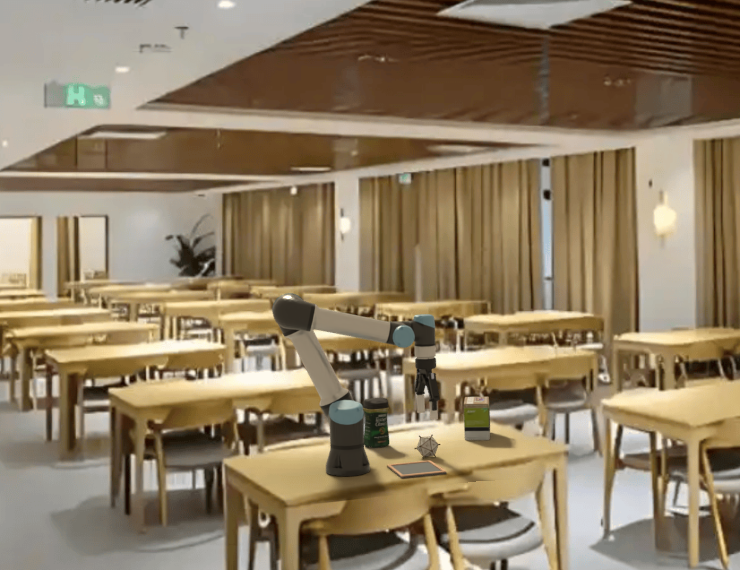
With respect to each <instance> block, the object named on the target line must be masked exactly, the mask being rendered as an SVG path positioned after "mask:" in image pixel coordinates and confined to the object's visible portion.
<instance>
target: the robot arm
mask: <svg viewBox="0 0 740 570" xmlns="http://www.w3.org/2000/svg"><path fill="white" fill-rule="evenodd" d="M271 307H272V308H271V309H272V310H271V311H272V316H273V319H274V321H275V323H276V324H277V325H278V327H279V329H280V331H281V333H282V335H283V337H284V338H286V339H289V340H290V341H291V343H292V346H293V347H294V349H295V351H296V352H297V354H298V357H299V358H300V362H301V363H302V364H303V366H304V368H305V371H306V373H307V374H308V377H309V379H310V380H311V382H312V384H313V385H314V388H315V390H316V392H317V394H318V396H319V398H320V401H319V407H320V408H321V410H322V412H323V415H324V417H325V418H326V422H327V423H328V426H329V440H330V441H329V444H330V446H329V447H330V449H329V453H328V456H327V459H326V462H325V463H326V464H325V473H326V474H328V475H331V476H335V475H336V476H337V477H354V476H355V477H356V476H361V475H364V474H367V473H369V472H370V471H371V466H370V465H371V464H370V461H369V458H368V455H367V452H366V449H365V445H364V431H365V422H364V417H365V413H364V410H363V406H364V405H363V404H362V403H360V402H359V401H355V400H354V398H353V396H352V394H351V393H350V390H349V388H346V387H345V388H344V386H342V384H341V382H340V380H339V379H338V378H339V377H338V376H337V374H336V372H335V370H334V368H333V367H332V365H331V362H330V361H329V359H328V357H327V355H326V352H325V351H324V348H323V346H322V345H321V343H320V341H319V339H318V337H317V335H316V333H315V332H314V331H320V332H325V333H326V332H327V333H329V334H331V333H332V334H337V335H342V336H347V337H350V338H351V337H352V338H358V339H361V340H366V341H367V340H368V341H373V342H378V343H382V344H387V345H391V346H396V347H398V348H403V349H405V348H409V347H410V346H412V345H413V343H414V357H415V359H414V361H415V363H414V365H415V366H414V367H415V369H416V375H415V376H416V377H415V383H414V384H415V385H414V391H413V392H414V393H415V395H416V410H417V411H416V413H417V414H421V413H426V407H425V405H426V403H425V402H426V401H425V394H426V393H425V389H426V390H427V393H428V396H429V399H428V402H429V403H428V404H429V420H430V421H432V420H439V416H438V415H439V414H438V413H439V412H438V411H439V409H438V408H439V407H438V401H441V398H440V392H439V388H438V387H439V386H438V382H437V374H436V372H433V370H435V369H436V368H437V358H436V356H437V352H436V351H437V350H438V349H437V346H436V324H435V317H434V315H433V314H428V313H427V314H426V313H425V314H424V313H423V314H422V313H421V314H415V315H413V319H412V320H406V321H405V320H404V321H403V320H402V321H392V320H390V321H386V320H381V319H377V318H371V317H366V316H362V315H358V314H357V315H356V314H354V313H353V314H351V313H346V312H344V311H343V312H342V311H337V310H332V309H328V308H323V307H319V306H318V305H317V304H316V303H313V302H309V301H305V300H304V299H303V298H302V297H301V296H299V295H298V294H296V293H292V292H287V293H284V294H281V295H279V296H278V297H277V298H276V299H275V300H274V302H273V303H272V306H271Z"/></svg>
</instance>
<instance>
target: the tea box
mask: <svg viewBox="0 0 740 570" xmlns="http://www.w3.org/2000/svg"><path fill="white" fill-rule="evenodd" d="M490 411H491V410H490V397H489V396H464V401H463V427H464V430H463V431H464V432H463V433H464V440H465V441H490V438H491V419H490V418H491V415H490V414H491V412H490Z"/></svg>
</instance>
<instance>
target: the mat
mask: <svg viewBox="0 0 740 570" xmlns="http://www.w3.org/2000/svg"><path fill="white" fill-rule="evenodd" d="M386 468H387V469H388V470H390V472H391V471H392V473H393V474H395V475H396V476H398V477H399V478H400V479H409V478H419V477H428V476H437V475H447V470H445V469H444V468H442V467H441V466H440V465H438V464H437V463H435V462H433V461H432V460H421V461H410V462H398V463H389V464H386Z"/></svg>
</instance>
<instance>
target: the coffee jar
mask: <svg viewBox="0 0 740 570" xmlns="http://www.w3.org/2000/svg"><path fill="white" fill-rule="evenodd" d="M362 406H363V411H364V447H366V448H371V449H379V448H378V447H380V448H384V447H385V448H386V447H388V446H389V445H390V435H389V433H390V432H389V425H388V412H389V409H390V407H389V406H390V405H389V399H388V398H385V397H372V398H365V399H364V400H363V405H362Z"/></svg>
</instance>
